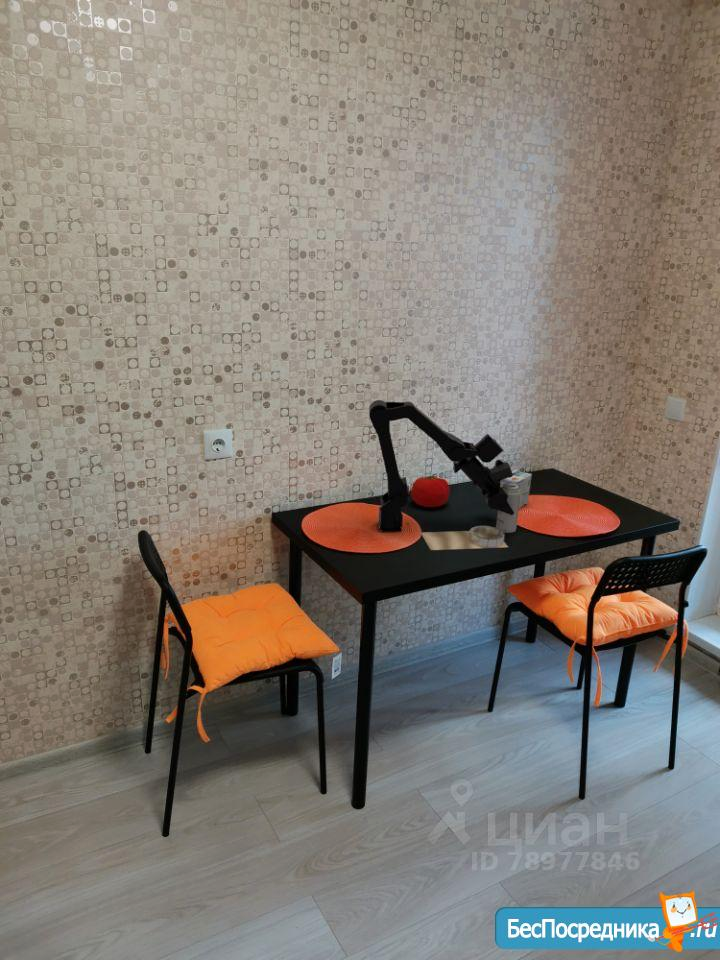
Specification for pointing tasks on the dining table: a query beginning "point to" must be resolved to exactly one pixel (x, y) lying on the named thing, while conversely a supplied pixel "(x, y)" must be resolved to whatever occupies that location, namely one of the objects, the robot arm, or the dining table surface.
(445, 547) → the plate
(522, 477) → the light bulb box
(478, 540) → the ring clip
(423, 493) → the tomato
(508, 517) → the energy drink can
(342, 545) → the dining table surface
